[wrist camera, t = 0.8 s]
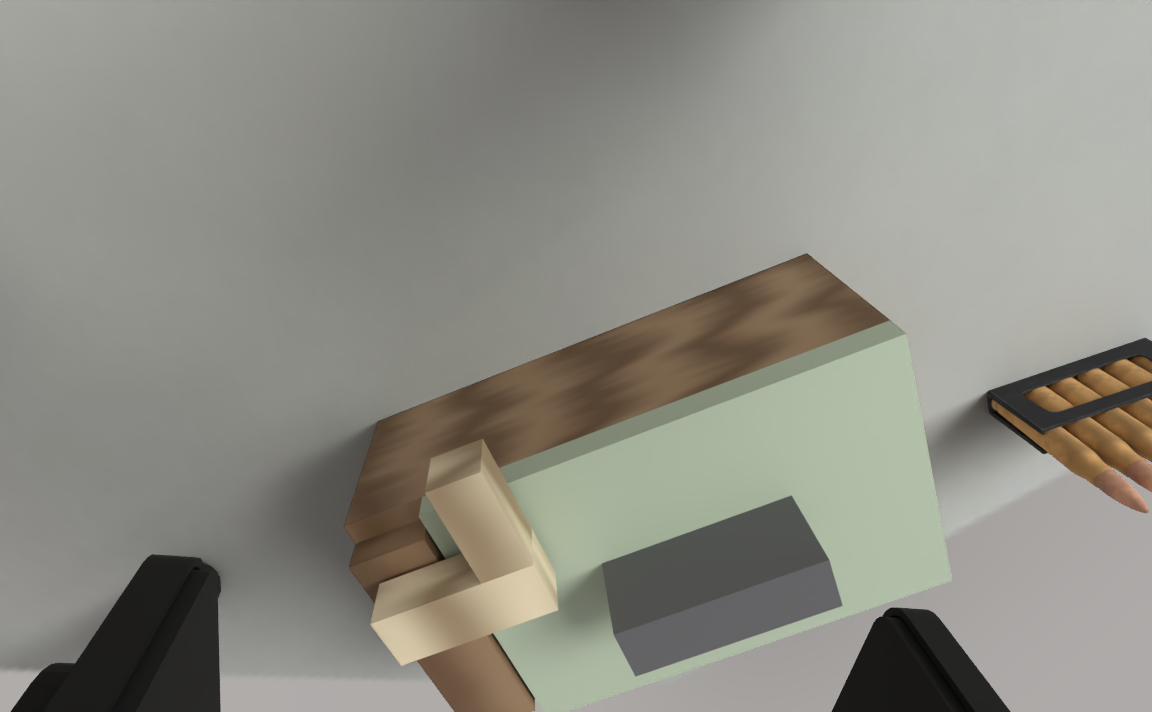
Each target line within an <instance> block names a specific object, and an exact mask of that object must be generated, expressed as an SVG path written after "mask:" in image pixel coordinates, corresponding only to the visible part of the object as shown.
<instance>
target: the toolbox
mask: <svg viewBox="0 0 1152 712" xmlns="http://www.w3.org/2000/svg"><path fill="white" fill-rule="evenodd" d="M887 321H889V319H888V318H887V317H886V316H884V315H883V314H882V313H881V312H879V311H878V310H877V309H876V308H874V307H873V306H872V305H871V304H869V303H868V302H867V301H866V300H864V299H863V298H862V297H861V296H859V295H858V294H857V293H856V292H854V291H853V290H852V289H851V288H849V287H848V286H847V285H846V284H844V283H843V282H842V281H841V280H839V279H838V278H837V277H836V276H834V275H833V274H832V273H831V272H829V271H828V270H827V269H826V268H824V267H823V266H822V265H821V264H820V263H818V262H817V261H816V260H815V259H813V258H812V257H811V256H810V255H808V254H804V255H802V256H799V257H797V258H794V259H792V260H789V261H787V262H784V263H781V264H779V265H776V266H774V267H771V268H769V269H766V270H764V271H761V272H758V273H756V274H753V275H751V276H748V277H746V278H743V279H741V280H738V281H735V282H733V283H730V284H728V285H725V286H723V287H720V288H718V289H715V290H712V291H710V292H707V293H705V294H702V295H700V296H697V297H695V298H692V299H689V300H687V301H684V302H682V303H679V304H677V305H674V306H672V307H669V308H666V309H664V310H661V311H659V312H656V313H654V314H651V315H649V316H646V317H643V318H641V319H638V320H636V321H633V322H631V323H628V324H626V325H623V326H620V327H618V328H615V329H613V330H610V331H608V332H605V333H603V334H600V335H597V336H595V337H592V338H590V339H587V340H585V341H582V342H580V343H577V344H574V345H572V346H569V347H567V348H564V349H562V350H559V351H557V352H554V353H551V354H549V355H546V356H544V357H541V358H539V359H536V360H534V361H531V362H528V363H526V364H523V365H521V366H518V367H516V368H513V369H511V370H508V371H505V372H503V373H500V374H498V375H495V376H493V377H490V378H488V379H485V380H482V381H480V382H477V383H475V384H472V385H470V386H467V387H465V388H462V389H459V390H457V391H454V392H452V393H449V394H447V395H444V396H442V397H439V398H436V399H434V400H431V401H429V402H426V403H424V404H421V405H419V406H416V407H413V408H411V409H408V410H406V411H403V412H401V413H398V414H396V415H393V416H390V417H388V418H385V419H383V420H380V421H378V423H377V426H376V429H375V432H374V435H373V439H372V442H371V445H370V448H369V451H368V454H367V457H366V460H365V463H364V466H363V469H362V472H361V475H360V478H359V481H358V484H357V487H356V490H355V494H354V497H353V500H352V503H351V506H350V509H349V512H348V515H347V518H346V521H345V524H344V528H345V529H346V531H347V532H348V534H349V535H350V536H351V538H352V539H353V541H354V542H355V543H356V545H355V548H354V551H353V555H352V558H351V562H350V565H349V569H350V570H351V572H352V573H353V574H354V576H355V577H356V578H357V580H358V581H359V583H360V584H361V585H362V587H363V588H364V589H365V591H366V592H367V593H368V595H369V596H370V597H371V599H372V600H373V602H374V603H375V601H376V597H377V592H378V588H379V584H380V583H383V582H386V581H388V580H391V579H394V578H397V577H399V576H402V575H405V574H408V573H410V572H413V571H416V570H418V569H421V568H424V567H427V566H429V565H432V564H435V563H437V562H440V561H443V560H446V559H445V557H444V556H443V554H442V552H441V551H440V549H439V548H438V546H437V545H436V543H435V542H434V540H433V538H432V537H431V535H430V534H429V532H428V531H427V529H426V528H425V526H424V524H423V523H422V521H421V520H420V518H419V512H420V507H421V501H422V497H424V496H426V494H425V489H426V483H427V478H428V472H429V467H430V461H431V458H433V457H436V456H439V455H441V454H444V453H446V452H449V451H452V450H454V449H457V448H459V447H462V446H465V445H467V444H470V443H473V442H475V441H478V440H480V439H483V440H484V442H485V444H486V446H487V447H488V449H489V451H490V453H491V455H492V457H493V458H494V460H495V462H496V464H497V466H498V468H500V467H503V466H506V465H508V464H511V463H514V462H516V461H519V460H522V459H524V458H527V457H530V456H532V455H535V454H537V453H540V452H543V451H545V450H548V449H551V448H553V447H556V446H559V445H561V444H564V443H567V442H569V441H572V440H575V439H577V438H580V437H582V436H585V435H588V434H590V433H593V432H596V431H598V430H601V429H604V428H606V427H609V426H612V425H614V424H617V423H620V422H622V421H625V420H627V419H630V418H633V417H635V416H638V415H641V414H643V413H646V412H649V411H651V410H654V409H657V408H659V407H662V406H664V405H667V404H670V403H672V402H675V401H678V400H680V399H683V398H686V397H688V396H691V395H694V394H696V393H699V392H702V391H704V390H707V389H709V388H712V387H715V386H717V385H720V384H723V383H725V382H728V381H731V380H733V379H736V378H739V377H741V376H744V375H747V374H749V373H752V372H754V371H757V370H760V369H762V368H765V367H768V366H770V365H773V364H776V363H778V362H781V361H784V360H786V359H789V358H791V357H794V356H797V355H799V354H802V353H805V352H807V351H810V350H813V349H815V348H818V347H821V346H823V345H826V344H829V343H831V342H834V341H836V340H839V339H842V338H844V337H847V336H850V335H852V334H855V333H858V332H860V331H863V330H866V329H868V328H871V327H873V326H876V325H879V324H881V323H884V322H887ZM417 661H418V663H419V664H420V665H421V667H422V668H423V669H424V671H425V672H426V674H427V675H428V676H429V678H430V679H431V680H432V682H433V683H434V684H435V686H436V687H437V689H438V690H439V691H440V693H441V694H442V695H443V697H444V698H445V699H446V701H447V702H448V703H449V705H450V706H451V708H452V709H453V710H454V712H532V711H535V697H534V696H533V694H532V693H531V691H530V690H529V688H528V687H527V685H526V683H525V682H524V680H523V679H522V677H521V676H520V674H519V672H518V671H517V669H516V668H515V666H514V665H513V663H512V662H511V660H510V658H509V657H508V655H507V654H506V652H505V651H504V649H503V648H502V646H501V644H500V643H499V641H498V640H497V638H496V637H495V635H494V634H490V635H487V636H484V637H481V638H478V639H476V640H473V641H470V642H467V643H464V644H462V645H459V646H456V647H453V648H450V649H447V650H445V651H442V652H439V653H436V654H433V655H431V656H428V657H425V658H422V659H419V660H417Z"/></svg>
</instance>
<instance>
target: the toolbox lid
mask: <svg viewBox="0 0 1152 712" xmlns="http://www.w3.org/2000/svg"><path fill="white" fill-rule="evenodd" d="M499 469H500V471H501V473H502V475H503V477H504V478H505V480H506V482H507V484H508V486H509V488H510V489H511V491H512V493H513V495H514V497H515V499H516V500H517V502H518V504H519V506H520V508H521V509H522V511H523V513H524V515H525V517H526V519H527V520H528V522H529V524H530V526H531V528H532V530H533V531H534V533H535V535H536V537H537V539H538V541H539V542H540V544H541V546H542V548H543V550H544V551H545V553H546V555H547V557H548V559H549V561H550V562H551V564H552V566H553V568H554V570H555V573H556V586H557V598H558V610H557V611H555V612H552V613H549V614H546V615H543V616H540V617H538V618H535V619H532V620H529V621H526V622H524V623H521V624H518V625H515V626H512V627H509V628H507V629H504V630H501V631H498V632H495V633H493V634H494V635H495V637H496V638H497V640H498V641H499V643H500V644H501V646H502V648H503V649H504V651H505V652H506V654H507V655H508V657H509V658H510V660H511V662H512V663H513V665H514V666H515V668H516V669H517V671H518V672H519V674H520V676H521V677H522V679H523V680H524V682H525V683H526V685H527V687H528V688H529V690H530V691H531V693H532V694H533V696H534V697H535V699H536V701H537V702H538V704H539V705H540V707H541V708H542V710H543V711H544V712H568V711H571V710H574V709H577V708H579V707H582V706H585V705H588V704H591V703H594V702H597V701H600V700H603V699H606V698H609V697H612V696H615V695H617V694H621V693H623V692H626V691H629V690H632V689H635V688H638V687H641V686H644V685H647V684H650V683H653V682H656V681H659V680H662V679H665V678H668V677H671V676H674V675H677V674H679V673H682V672H685V671H688V670H691V669H694V668H697V667H700V666H703V665H706V664H709V663H712V662H715V661H718V660H721V659H724V658H727V657H729V656H732V655H735V654H738V653H741V652H744V651H747V650H750V649H753V648H756V647H759V646H762V645H765V644H768V643H771V642H774V641H777V640H779V639H782V638H785V637H788V636H791V635H794V634H797V633H800V632H803V631H806V630H809V629H812V628H815V627H818V626H820V625H824V624H827V623H829V622H832V621H835V620H838V619H841V618H844V617H847V616H850V615H853V614H856V613H859V612H862V611H865V610H868V609H871V608H874V607H877V606H879V605H882V604H885V603H888V602H891V601H894V600H897V599H900V598H903V597H906V596H909V595H912V594H915V593H918V592H921V591H924V590H927V589H929V588H932V587H935V586H938V585H941V584H944V583H947V582H950V581H952V577H951V571H950V566H949V560H948V555H947V549H946V544H945V538H944V533H943V527H942V522H941V517H940V511H939V506H938V500H937V495H936V489H935V484H934V479H933V473H932V468H931V462H930V457H929V451H928V446H927V440H926V435H925V430H924V424H923V419H922V413H921V408H920V402H919V397H918V392H917V386H916V381H915V375H914V370H913V364H912V359H911V354H910V348H909V343H908V337H907V333H905V332H904V331H903V330H902V329H900V328H899V327H898V326H897V325H895V324H894V323H893V322H892V321H891V320H889V321H887V322H884V323H881V324H879V325H876V326H873V327H871V328H868V329H866V330H863V331H860V332H858V333H855V334H852V335H850V336H847V337H844V338H842V339H839V340H836V341H834V342H831V343H829V344H826V345H823V346H821V347H818V348H815V349H813V350H810V351H807V352H805V353H802V354H799V355H797V356H794V357H791V358H789V359H786V360H784V361H781V362H778V363H776V364H773V365H770V366H768V367H765V368H762V369H760V370H757V371H754V372H752V373H749V374H747V375H744V376H741V377H739V378H736V379H733V380H731V381H728V382H725V383H723V384H720V385H717V386H715V387H712V388H709V389H707V390H704V391H702V392H699V393H696V394H694V395H691V396H688V397H686V398H683V399H680V400H678V401H675V402H672V403H670V404H667V405H664V406H662V407H659V408H657V409H654V410H651V411H649V412H646V413H643V414H641V415H638V416H635V417H633V418H630V419H627V420H625V421H622V422H620V423H617V424H614V425H612V426H609V427H606V428H604V429H601V430H598V431H596V432H593V433H590V434H588V435H585V436H582V437H580V438H577V439H575V440H572V441H569V442H567V443H564V444H561V445H559V446H556V447H553V448H551V449H548V450H545V451H543V452H540V453H537V454H535V455H532V456H530V457H527V458H524V459H522V460H519V461H516V462H514V463H511V464H508V465H506V466H503V467H500V468H499ZM419 518H420V520H421V521H422V523H423V524H424V526H425V528H426V529H427V531H428V532H429V534H430V535H431V537H432V538H433V540H434V542H435V543H436V545H437V546H438V548H439V549H440V551H441V552H442V554H443V556H444V557H445V559H448V558H451V557H454V556H456V555H459V554H462V552H461V551H460V549H459V547H458V546H457V544H456V543H455V541H454V539H453V538H452V536H451V535H450V533H449V531H448V530H447V528H446V526H445V525H444V523H443V522H442V520H441V518H440V517H439V515H438V514H437V512H436V510H435V509H434V507H433V506H432V504H431V502H430V501H429V499H428V498H427V496H424V497H422V501H421V507H420V512H419Z"/></svg>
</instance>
